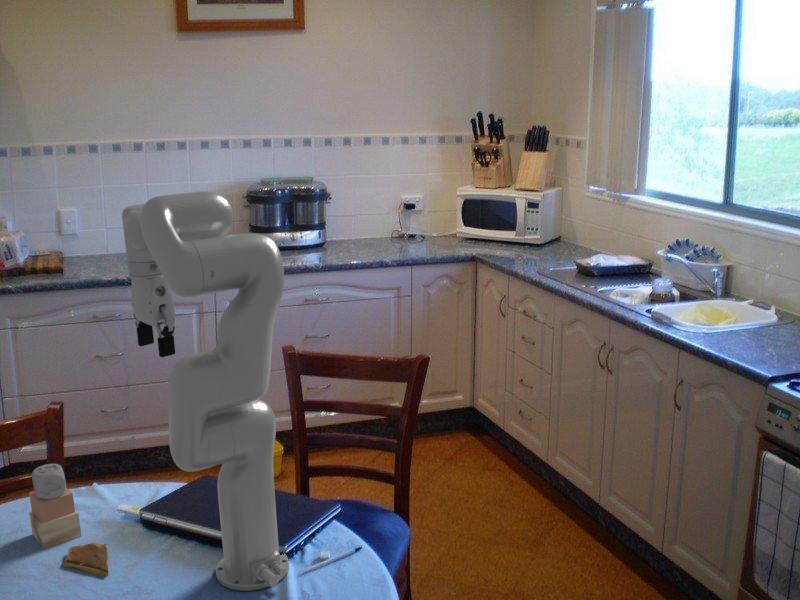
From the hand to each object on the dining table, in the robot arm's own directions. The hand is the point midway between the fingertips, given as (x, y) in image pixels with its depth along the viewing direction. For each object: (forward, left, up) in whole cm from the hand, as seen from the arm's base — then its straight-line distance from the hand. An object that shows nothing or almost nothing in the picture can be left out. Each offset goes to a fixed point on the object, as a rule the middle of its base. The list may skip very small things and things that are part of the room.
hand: (156, 349), depth 177 cm
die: (-4, +25, -22) cm, 34 cm away
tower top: (-4, +25, -25) cm, 36 cm away
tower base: (-4, +25, -30) cm, 40 cm away
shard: (-17, +23, -31) cm, 42 cm away
